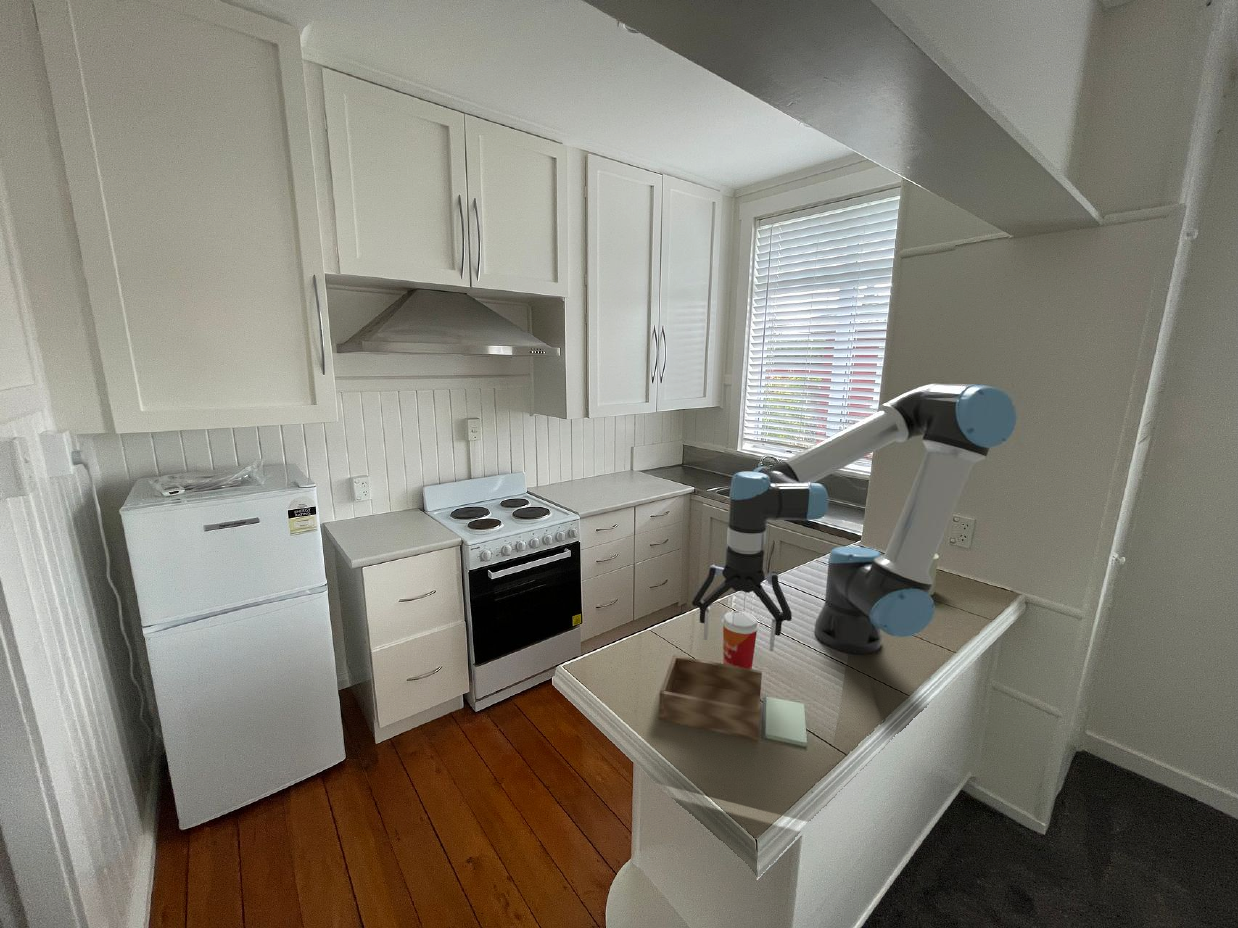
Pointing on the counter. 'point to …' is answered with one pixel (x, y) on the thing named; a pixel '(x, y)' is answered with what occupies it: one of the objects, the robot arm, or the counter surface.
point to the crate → (712, 696)
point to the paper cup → (739, 638)
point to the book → (784, 721)
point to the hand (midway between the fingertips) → (738, 642)
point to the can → (933, 573)
